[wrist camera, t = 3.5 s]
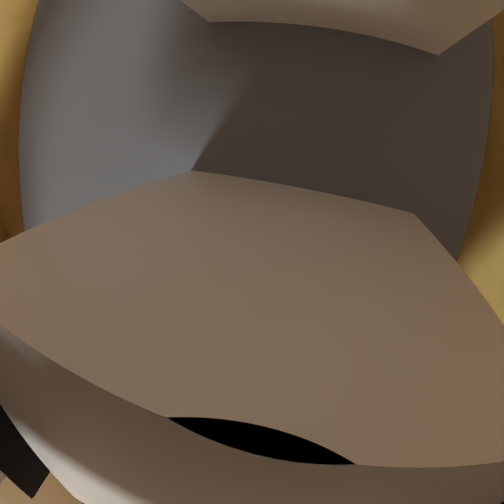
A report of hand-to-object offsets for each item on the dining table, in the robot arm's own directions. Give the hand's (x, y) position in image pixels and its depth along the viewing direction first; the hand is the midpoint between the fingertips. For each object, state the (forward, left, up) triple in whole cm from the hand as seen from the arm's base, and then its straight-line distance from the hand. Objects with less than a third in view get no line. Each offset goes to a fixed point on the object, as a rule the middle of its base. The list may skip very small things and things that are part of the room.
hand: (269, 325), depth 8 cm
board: (+6, +4, -3) cm, 8 cm away
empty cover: (0, 0, -2) cm, 2 cm away
